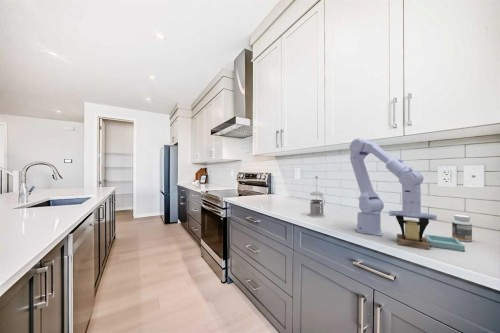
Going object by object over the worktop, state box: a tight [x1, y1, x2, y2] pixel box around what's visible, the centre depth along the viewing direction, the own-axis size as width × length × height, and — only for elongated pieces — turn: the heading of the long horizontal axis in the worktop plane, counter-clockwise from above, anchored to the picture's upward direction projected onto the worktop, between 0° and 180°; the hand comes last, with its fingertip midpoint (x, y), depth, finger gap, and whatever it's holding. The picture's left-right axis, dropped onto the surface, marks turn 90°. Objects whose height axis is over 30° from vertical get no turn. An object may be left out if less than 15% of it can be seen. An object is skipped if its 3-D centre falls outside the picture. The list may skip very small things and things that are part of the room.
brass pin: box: [404, 219, 420, 242], centre depth 80 cm, size 5×5×9 cm
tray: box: [424, 233, 466, 252], centre depth 79 cm, size 10×10×2 cm
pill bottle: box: [451, 214, 473, 243], centre depth 85 cm, size 6×6×10 cm
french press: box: [308, 176, 326, 219], centre depth 129 cm, size 10×12×25 cm
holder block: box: [396, 233, 430, 251], centre depth 80 cm, size 9×9×2 cm
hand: (411, 236), depth 80 cm, fingers closed on brass pin, 5 cm apart
